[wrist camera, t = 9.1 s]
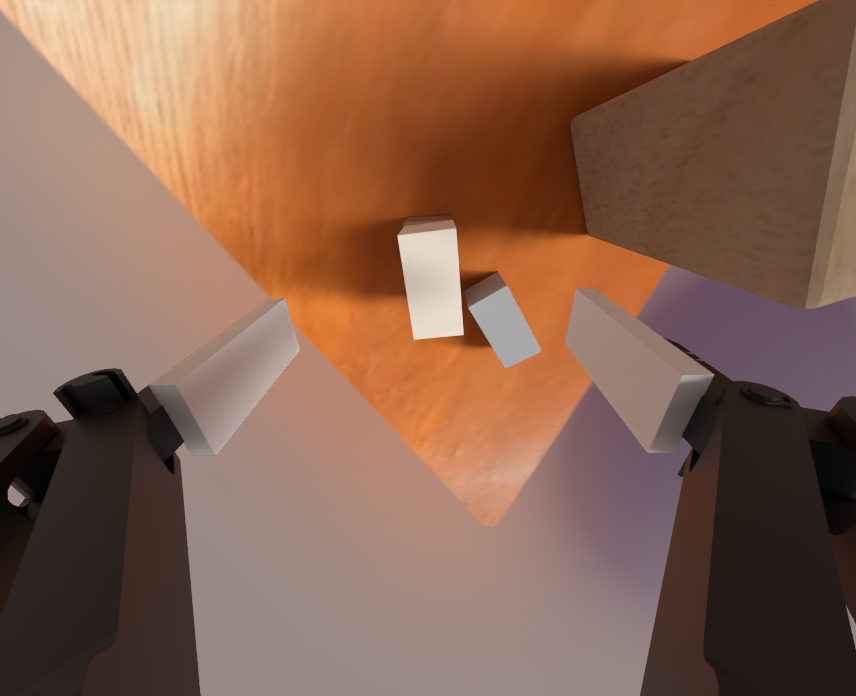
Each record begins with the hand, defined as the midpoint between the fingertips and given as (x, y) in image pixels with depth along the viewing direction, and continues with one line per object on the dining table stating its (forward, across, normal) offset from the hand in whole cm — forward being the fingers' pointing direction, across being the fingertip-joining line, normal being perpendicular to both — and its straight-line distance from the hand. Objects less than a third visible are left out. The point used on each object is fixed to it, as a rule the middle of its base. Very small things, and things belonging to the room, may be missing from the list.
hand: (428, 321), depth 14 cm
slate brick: (+19, +7, -8) cm, 21 cm away
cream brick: (+14, 0, -1) cm, 14 cm away
